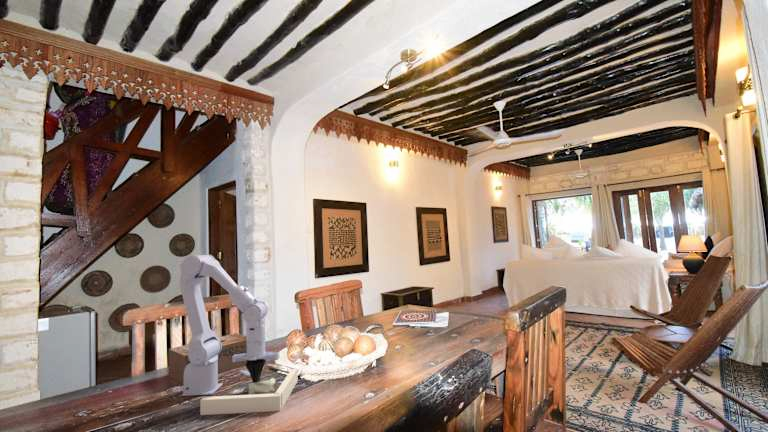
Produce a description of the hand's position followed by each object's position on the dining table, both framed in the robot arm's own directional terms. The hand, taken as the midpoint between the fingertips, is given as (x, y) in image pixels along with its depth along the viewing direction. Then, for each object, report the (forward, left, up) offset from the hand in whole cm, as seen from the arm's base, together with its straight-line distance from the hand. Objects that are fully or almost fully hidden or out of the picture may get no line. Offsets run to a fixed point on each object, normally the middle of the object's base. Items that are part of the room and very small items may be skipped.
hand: (256, 383), depth 110 cm
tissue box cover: (-24, +21, -2) cm, 32 cm away
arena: (+1, -5, -2) cm, 5 cm away
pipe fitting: (+3, -4, -2) cm, 6 cm away
